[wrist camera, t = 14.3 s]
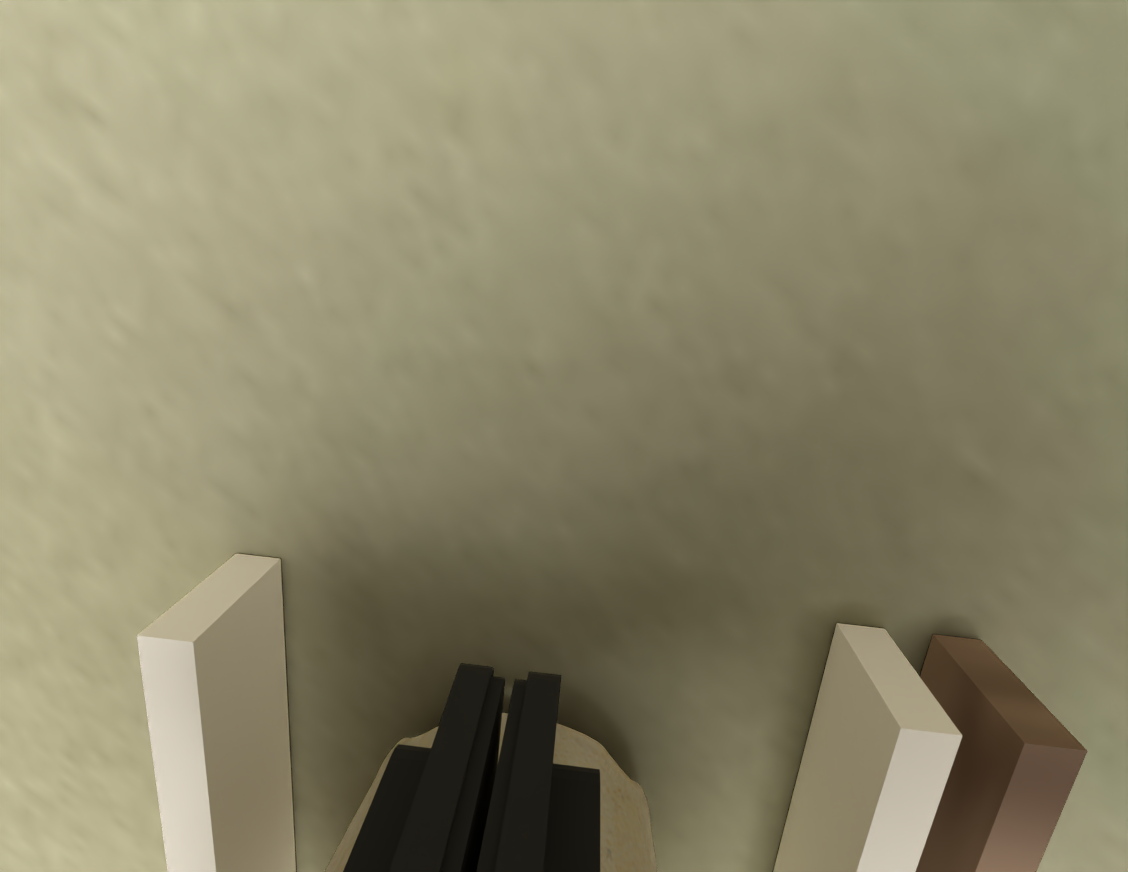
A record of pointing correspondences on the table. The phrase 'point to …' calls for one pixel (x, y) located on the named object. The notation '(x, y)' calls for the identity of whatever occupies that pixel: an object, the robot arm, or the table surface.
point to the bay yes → (263, 767)
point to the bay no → (995, 764)
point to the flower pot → (621, 803)
